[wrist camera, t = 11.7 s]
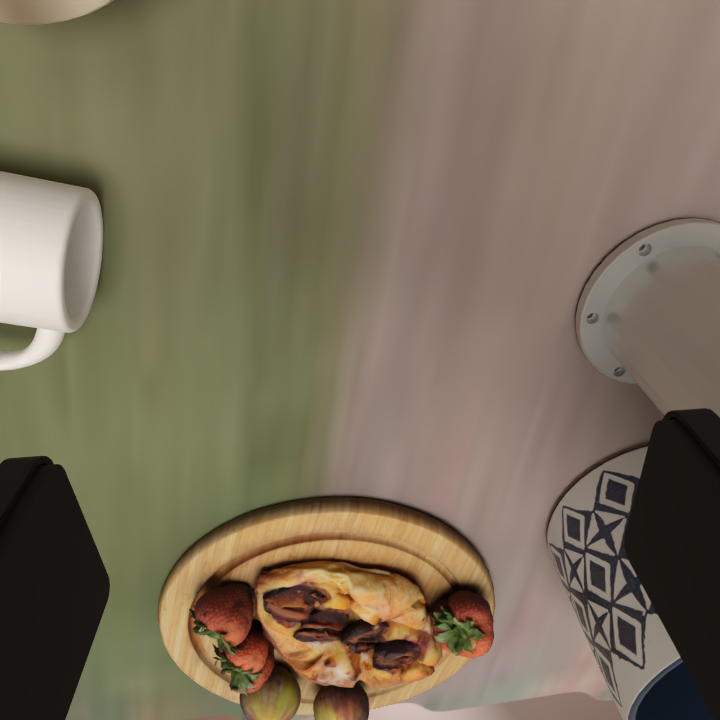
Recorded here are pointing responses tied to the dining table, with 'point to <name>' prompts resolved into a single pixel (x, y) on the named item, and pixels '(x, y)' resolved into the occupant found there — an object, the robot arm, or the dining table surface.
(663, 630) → the planter
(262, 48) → the dining table surface
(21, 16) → the lid
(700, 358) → the robot arm
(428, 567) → the wooden plate with food
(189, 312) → the dining table surface
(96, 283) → the mug
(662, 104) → the dining table surface
